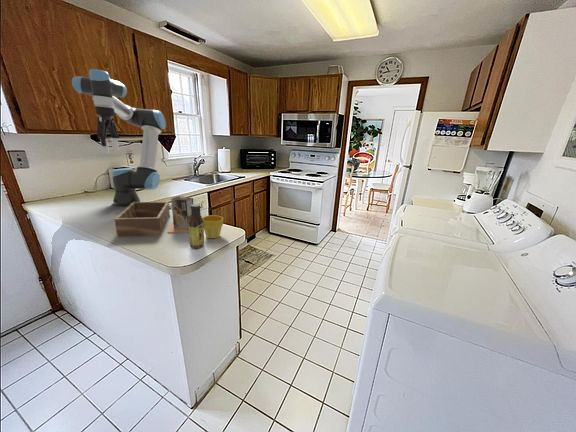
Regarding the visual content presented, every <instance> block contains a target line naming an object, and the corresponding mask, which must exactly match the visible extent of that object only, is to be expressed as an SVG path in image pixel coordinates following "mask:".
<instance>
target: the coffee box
mask: <svg viewBox="0 0 576 432" xmlns="http://www.w3.org/2000/svg"><path fill="white" fill-rule="evenodd" d="M193 204H194V198H193V197H188V196H181V195H177V196H174V197H172V198H171V211H172V212H171V213H172V222H173V224H174V227H175V228H182V229H188V230H189V219H190V217H191V205H193Z"/></svg>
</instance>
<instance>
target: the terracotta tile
mask: <svg viewBox="0 0 576 432" xmlns="http://www.w3.org/2000/svg"><path fill="white" fill-rule="evenodd" d="M182 233H186V234H187V233H189V230H188V229H182V228H175V227H174V224H173V221H172V222H171V223H170V225H169V228H168V230H167V234H182Z"/></svg>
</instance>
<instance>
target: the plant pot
mask: <svg viewBox="0 0 576 432" xmlns="http://www.w3.org/2000/svg"><path fill="white" fill-rule="evenodd" d="M202 219H203V222H204V235H205V237H206V238H207V239H210V238H215V239H217V238H216V237H218V238H219V237H220V236H221V232H222V231H221V230H222V226H223V225H224V217H223V216H220V215H215V214H212V215H205V216H203V217H202Z"/></svg>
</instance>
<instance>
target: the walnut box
mask: <svg viewBox="0 0 576 432" xmlns="http://www.w3.org/2000/svg"><path fill="white" fill-rule="evenodd" d="M170 214H171V213H170V204H169V201H140V202H133V203H131V204H130V205H129V206H126V208H125V209H124V210H123V211H122V212H120V214H119V215H117V216H116V217H115V218H114V225H115V229H116V237H118V238H121V237H123V238H125V237H147V236H148V237H149V236H150V237H152V236H162V233H163V232H164V229H165V227H166V226H167V222H169V219H170Z"/></svg>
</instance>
